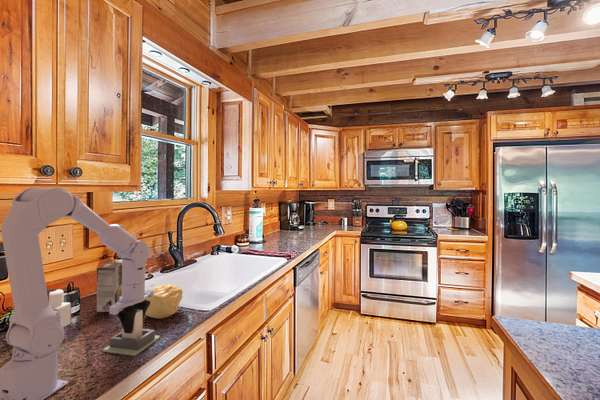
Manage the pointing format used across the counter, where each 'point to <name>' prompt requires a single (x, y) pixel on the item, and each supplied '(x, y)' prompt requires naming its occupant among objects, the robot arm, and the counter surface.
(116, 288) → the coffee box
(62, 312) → the white stepped block
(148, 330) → the socket board
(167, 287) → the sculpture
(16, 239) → the robot arm
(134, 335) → the keyed plug
